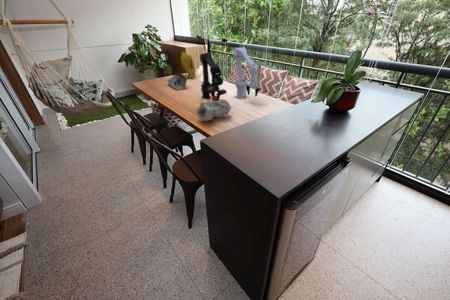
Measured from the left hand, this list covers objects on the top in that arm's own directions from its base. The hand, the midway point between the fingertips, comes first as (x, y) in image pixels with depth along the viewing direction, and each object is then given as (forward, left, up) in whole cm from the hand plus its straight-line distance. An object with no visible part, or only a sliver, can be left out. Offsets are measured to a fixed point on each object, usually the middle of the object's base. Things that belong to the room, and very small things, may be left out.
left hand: (215, 100), depth 178 cm
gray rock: (-3, -76, -6) cm, 76 cm away
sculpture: (-35, -100, -6) cm, 106 cm away
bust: (+17, +19, -6) cm, 26 cm away
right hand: (-30, +16, +1) cm, 34 cm away
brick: (0, 0, -1) cm, 1 cm away
